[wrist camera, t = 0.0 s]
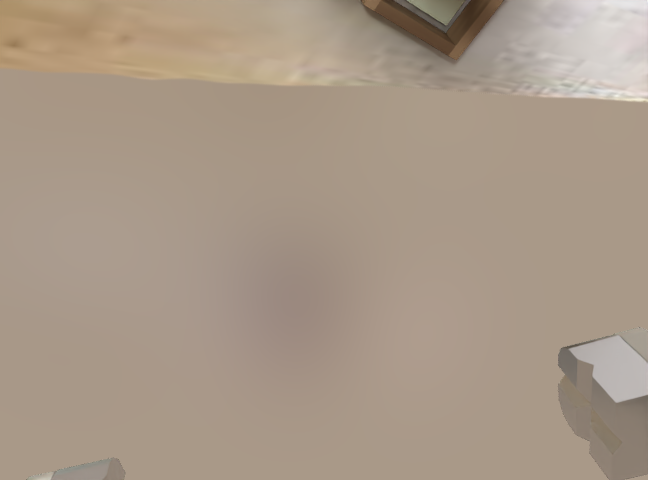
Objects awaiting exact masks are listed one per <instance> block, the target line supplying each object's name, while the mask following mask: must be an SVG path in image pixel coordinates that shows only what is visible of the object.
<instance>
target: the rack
mask: <svg viewBox="0 0 648 480" xmlns="http://www.w3.org/2000/svg"><path fill="white" fill-rule="evenodd" d="M361 1H362V3H363V4H364V5H365V6H366V7H368V8H370V9H371V10H373V11H375V12H376V13H378V14H380V15H381V16H383V17H385V18H386V19H388V20H390V21H391V22H393V23H395V24H396V25H398V26H400V27H401V28H403V29H405V30H406V31H408V32H410V33H411V34H413V35H415V36H416V37H418V38H420V39H421V40H423V41H425V42H426V43H428V44H430V45H431V46H433V47H435V48H436V49H438V50H440V51H441V52H443V53H445V54H446V55H448V56H450V57H451V58H453V59H455V60H456V61H457V59H458V58H459V57H460V55H461V54H462V53H463V52H464V50H465V49H466V48H467V47H468V45H469V44H470V43H471V42H472V40H473V39H474V38H475V36H476V35H477V34H478V33H479V31H480V30H481V29H482V28H483V26H484V25H485V24H486V23H487V21H488V20H489V19H490V17H491V16H492V15H493V14H494V12H495V11H496V10H497V9H498V7H499V6H500V5H501V3H502V2H503V1H504V0H471V1H470V2H469V3H468V5H467V6H466V7H465V9H464V10H463V11H462V12H461V14H460V15H459V16H458V18H457V19H456V20H455V22H454V23H453V24H452V26H451V27H450V28H449V30H448V31H447V32H446V33H445V32H443V31H442V30H440V29H438V28H437V27H435V26H434V25H432V24H430V23H429V22H427V21H426V20H424V19H423V18H421V17H419V16H418V15H416V14H415V13H413V12H411V11H410V10H408V9H407V8H405V7H403V6H402V5H400V4H399V3H397V2H395V1H394V0H361ZM407 1H408V2H410V3H411V4H413V5H414V6H416V7H418V8H419V9H421V10H422V11H424V12H425V13H427V14H429V15H430V16H432V17H433V18H435V19H436V20H438V21H440V22H441V23H443V24H444V25H446V26H447V24H448V23H449V22H450V20H451V19H452V18H453V16H454V15H455V14H456V12H457V11H458V10H459V8H460V7H461V6H462V4H463V3H464V2H465V0H407Z"/></svg>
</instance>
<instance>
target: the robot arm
mask: <svg viewBox="0 0 648 480" xmlns="http://www.w3.org/2000/svg"><path fill="white" fill-rule="evenodd" d="M558 366H559V367H560V368H561V369H562V371H563V372H564V373H565V376H564V377H563V379H562V380H561V381H560V383H559V384H558V392H559V401H560V405H561V409H562V412H563V415H564V417H565V419H566V421H567V422H568V424H569V426H570V427H571V428H572V430H573V431H574V433H575V434H576V435H577V436H580V437H581V438H584V439H586V440H588V441H590V455H591V456H592V457H593V459H594V460H595V462H596V463H597V464H598V466H599V467H600V468H601V469H602V471H603V472H604V474H605V475H606V476H607V478H608V479H609V480H625V479H629V478H634V477H638V476H642V475H647V474H648V331H647V330H646V329H643V328H640V327H639V328H635V329H631V330H627V331H624V332H620V333H616V334H613V335H611V336H606V337H602V338H598V339H594V340H590V341H586V342H583V343H579V344H575V345H570V346H567V347H563V348H561V349H560V352H559V355H558ZM124 477H125V471H124V469H123V467H122V465H121V463H120V461H119V459H116V458H110V459H105V460H100V461H96V462H92V463H87V464H82V465H78V466H73V467H69V468H64V469H60V470H57V471H54V472H49V473H45V474H40V475H35V476H30V477H28V479H26V480H124Z"/></svg>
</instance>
